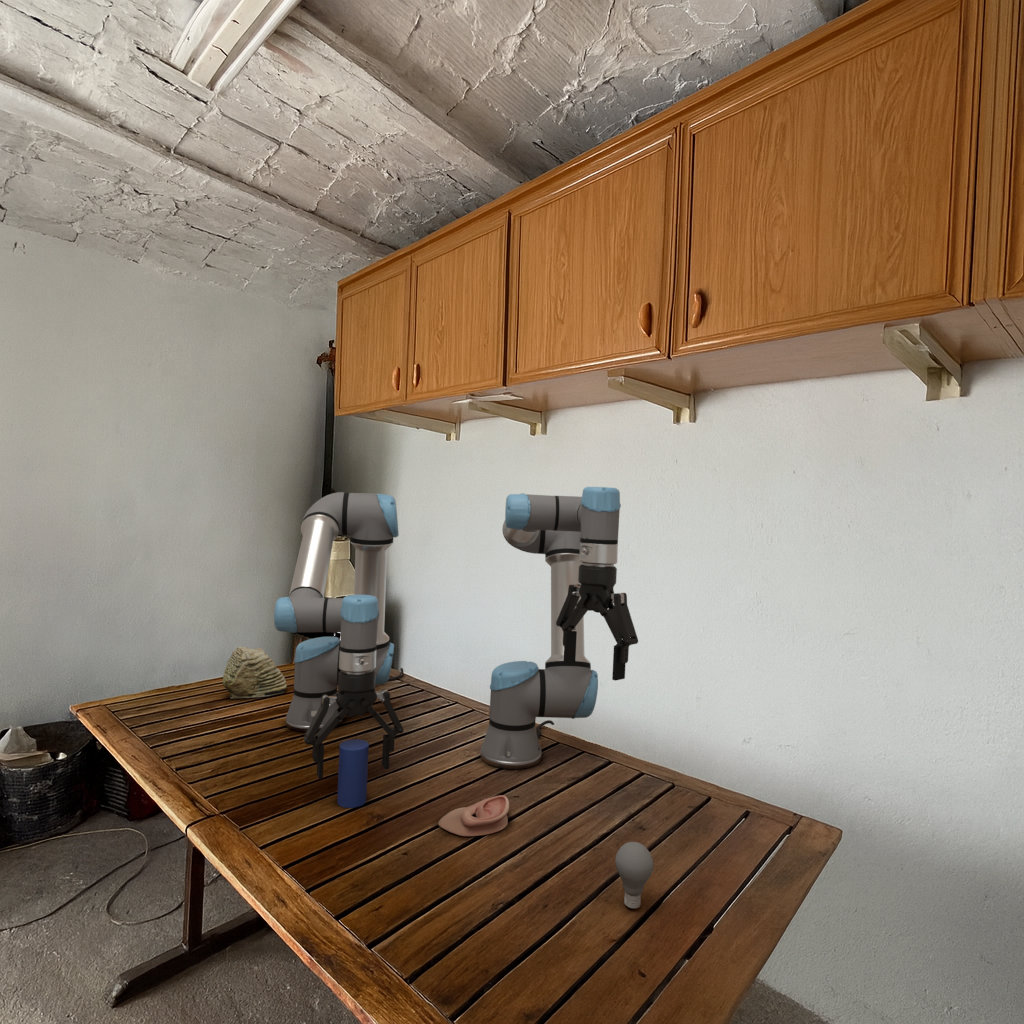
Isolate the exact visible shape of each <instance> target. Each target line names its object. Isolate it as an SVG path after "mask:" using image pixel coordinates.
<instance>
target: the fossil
mask: <svg viewBox="0 0 1024 1024" xmlns="http://www.w3.org/2000/svg"><path fill="white" fill-rule="evenodd" d="M222 676H223V677H222V685H223V687H224V688H225V690H226V691H228V693H229V698H230V699H250V698H264V697H271V696H275V695H281V694H284V693H285V691H286V689H287V687H288V686H287V680H286V678H285V676H284V674H283V673H282V672H281V669H279V668H278V667H277V665H276V663H275V662H274V660H273V659H272V658H271V657H270V656H269V655H268V654H267V653H266V652H265V650H264V649H263V648H260V647H258V648H251V647H247V646H246V647H245V646H238V647H237V648H236V649H235V650H233V651H232V653H231V656H230V657H229V659H228V660H227V663H226V666H225V668H224V671H223V675H222Z"/></svg>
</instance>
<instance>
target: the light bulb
mask: <svg viewBox="0 0 1024 1024" xmlns="http://www.w3.org/2000/svg"><path fill="white" fill-rule="evenodd" d="M614 864H615V868H616V871H617V873H618V876H619V877H620V880H621V881H622V888H623V890H624V898H623V899H624V900H623V903H624V905H625V906H627V907H628V908H630V909H638V908H640V907H641V900H642V893H643V892H644V888H645V885H646V884H647V882H648V881H649V879H650V878H651V876H652V874H653V871H654V859H653V856H652V854H651V852H650V851H649V849H648V848H647V847H646V846H645V845H644V844H642V843H640V842H637V841H628V842H625V843H623V845H621V846H620V847H619V848H618V850H617V852H616V854H615V863H614Z"/></svg>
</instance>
